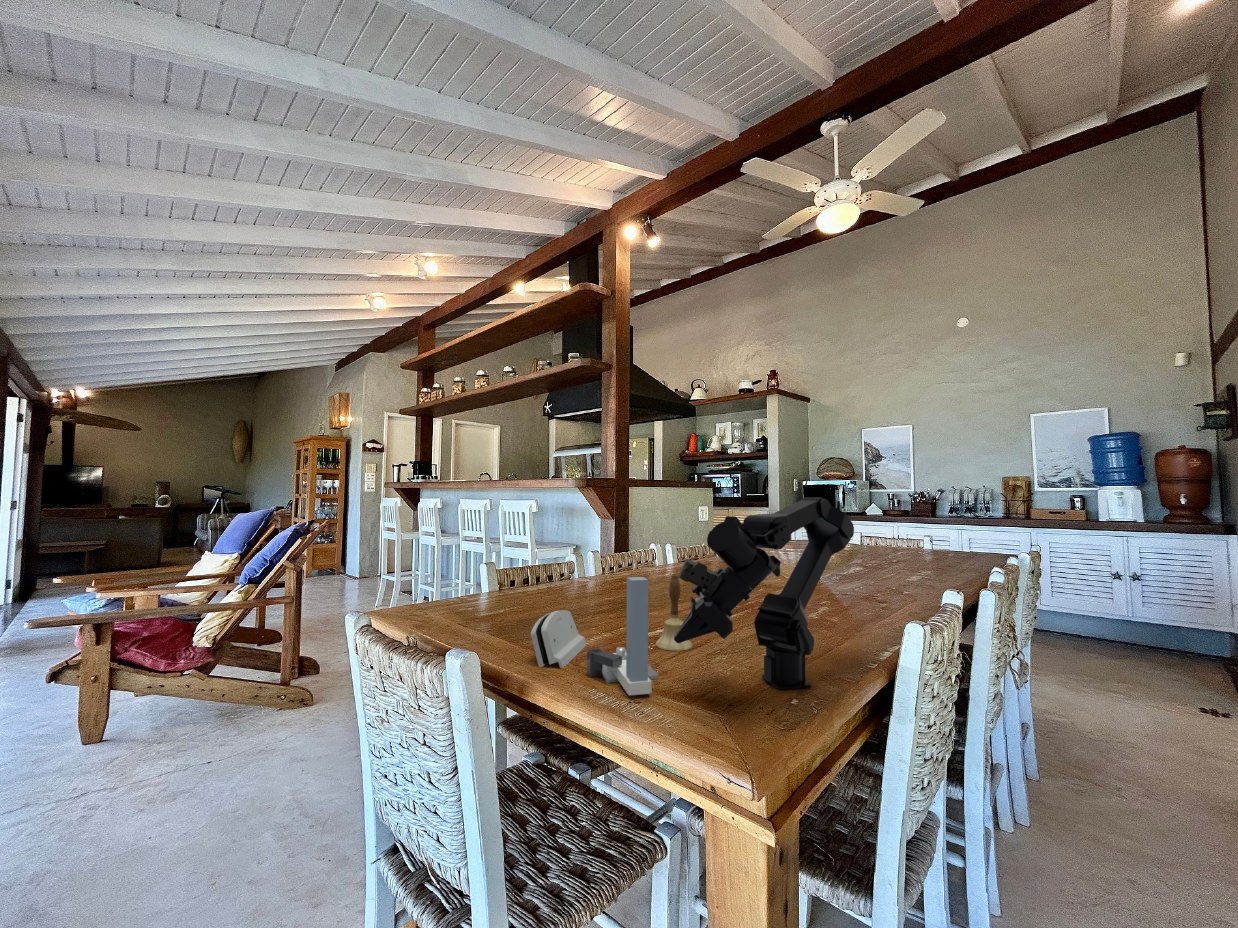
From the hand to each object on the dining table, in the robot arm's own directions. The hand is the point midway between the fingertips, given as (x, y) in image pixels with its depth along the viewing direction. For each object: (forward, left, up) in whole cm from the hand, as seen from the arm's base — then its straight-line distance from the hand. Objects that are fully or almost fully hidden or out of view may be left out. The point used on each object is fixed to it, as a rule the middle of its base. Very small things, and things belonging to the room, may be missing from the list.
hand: (675, 640), depth 88 cm
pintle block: (+6, -13, -9) cm, 17 cm away
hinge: (+17, -26, -9) cm, 32 cm away
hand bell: (-10, -26, -9) cm, 30 cm away
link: (+6, -8, -8) cm, 13 cm away
